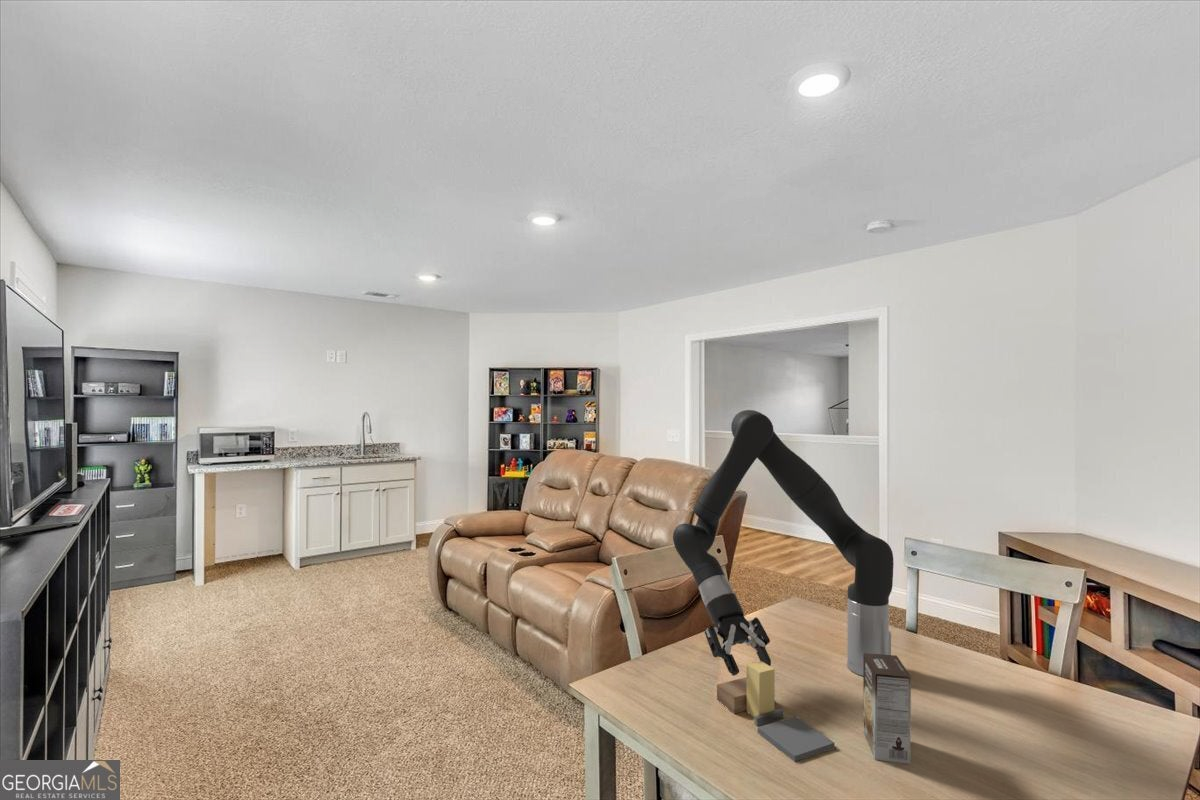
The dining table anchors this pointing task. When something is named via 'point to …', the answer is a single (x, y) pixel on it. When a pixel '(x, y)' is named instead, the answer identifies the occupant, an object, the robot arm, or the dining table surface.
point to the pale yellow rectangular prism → (760, 688)
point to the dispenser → (742, 700)
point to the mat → (795, 738)
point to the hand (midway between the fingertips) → (752, 670)
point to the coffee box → (886, 707)
